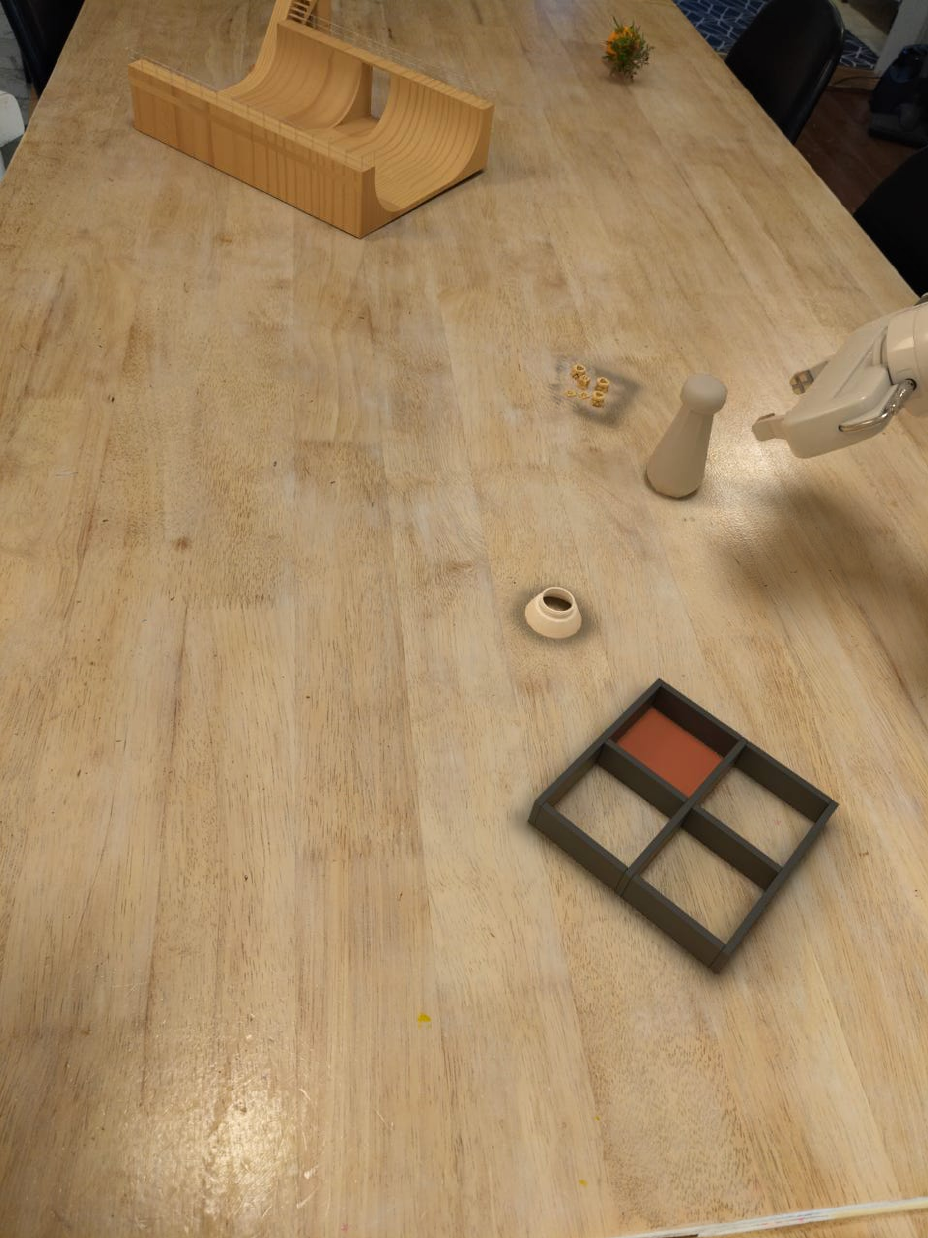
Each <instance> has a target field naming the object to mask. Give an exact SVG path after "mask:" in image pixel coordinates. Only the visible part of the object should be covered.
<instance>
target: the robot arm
mask: <svg viewBox="0 0 928 1238" xmlns="http://www.w3.org/2000/svg"><path fill="white" fill-rule="evenodd" d="M789 385H790V387H791V388H792V389H791V390H792V392H793V394H795V395H798V396H801V397H800V398H799V399H798V400H797V402H796V403H795V404H794V405H793V407H792V408H791V409H790V410H787V411H786V412H785V414H780V415H776V414H775V412H772V413H769V414H765V415H762V416H759V417H758V418H757V419H756V420H755V422H753V424H752V425H751V430H752V434H753V435H754V437H755V440H756V441H758V442H759V443H760V442H761V443H762V442H763V443H764V442H767V441H770V440H771V441H772V440H774V439H775V440H783V441H784V440H785V441H786V443H787V445H788V448H789V450H790V451H791V453H792V455H793V457H795V458H798V459H802V460H803V459H804V460H807V459H811V458H815V457H820V456H822V455H826V454H828V453H832V452H835V451H838V450H841V449H844V448H847V447H850V446H854V445H857V444H859V443H862V442H865V441H867V440H869V439H872V438H874V437H875V436H877V435H879V434H881V433H882V432H883V431H884V430H885V429H886V428H887V427H888V425H889V424H890V422H891V421H892V419H893V417H895V416H897V415H898V414H899V413H900V412H901V411H902V410H903V409H905V410H906V411H907V412H908V414H910V415H911V416H912V417H914V418H916V419H921V420H922V419H926V418H928V292H926V293H924V294H923V295H921V297H920V298H919V299H918V300H917V302H916V303H912V304H909V305H907V306H904V307H901V308H900V309H896V310H894V311H891V312H889V313H887V314H885V315H882V316H880V317H877V318H875V319H873V320H870V321H869V322H866V323H865V324H863V325H862V326H860V327H858V328H856V329H854V330H853V331H852V332H851V333H850V334H849V336H848V337H846V339H845V340H844V341H843V343H842V344H841V346H840V347H838V349H837V351H836V352H835V353H834V354H831V355H828V356H827V357H825V358H824V359H822V360H820V361H818V362H816V363H814V364H813V365H810V366H809V367H806V368H803V369H801V370H797V371H796V372H795V373H794V374H793V375H792V377H791V378H790V379H789Z"/></svg>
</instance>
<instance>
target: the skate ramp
mask: <svg viewBox="0 0 928 1238" xmlns="http://www.w3.org/2000/svg"><path fill="white" fill-rule="evenodd" d="M332 25H334V26H336V27H339V28H341V29H342V33H339V32H335V31H333V30H332ZM345 31H348V32H351V33H353V34H355V35H357V36H360V37H363V38H365V39H367V40H370V45H367V44H365V43H363V42H360V41H358V42H357V39H354V38H351V37H348V36H346V35H344V32H345ZM332 32H333V33H335V34H338V35H340V36H342V39H344V38H348V39H350V40H353V41H355V42H356V46H355V45H353V44H351V43H348V42H346V41H344V40H342V39H339V38H337V37H334V36H332ZM374 42H375V43H377V44H380V45H382V46H385V47H386V48H389V49H391V50H394V51H397V52H399V53H401V54H404V55H407V56H409V57H411V58H415V59H416V57H415V56H412V55H410V54H408V53H405V52H402V51H400V50H397V49H395V48H393V47H391V46H388V45H385V44H383V43H381V42H379V41H375V40H373V39H371V38H368V37H366V36H364V35H361V34H359V33H356V32H354V31H352V30H350V29H347V28H344V27H342V26H340V25H337V24H335V23H332V0H276V1H275V3H274V6H273V9H272V13H271V16H270V19H269V22H268V25H267V29H266V32H265V36H264V39H263V42H262V45H261V48H260V51H259V53H258V58H257V59H256V61H255V63H253V64H251V65H248V75H247V76H246V77H245V78H244V79H243V80H241V81H240V82H238V83H236V84H233V85H232V86H229V87H226V88H224V89H222V90H221V89H218V88H215V87H213V86H211V85H209V84H207V83H206V82H205V83H204V82H202V81H200V80H198V79H196V78H194V77H192V76H189V75H186V74H185V73H183V72H180V71H178V70H176V69H174V68H172V67H169V66H168V65H165V64H163V63H160V62H159V61H155V60H154V59H152V58H150V57H148V56H145V55H143V54H142V52H141V51H142V50H141V48H139V51H138V52H136V51H134V50H133V49H130V48H133V47H135V46H138V45H139V43H137V44H134V45H130V46H128V47H125V48H124V49H125V51H126V54H125V57H126V58H125V59H127V61H126V69H127V77H128V83H129V87H130V97H131V103H132V110H133V112H132V113H133V118H134V127H135V130H137V131H139V132H141V133H143V134H145V135H147V136H149V137H151V138H154V139H155V140H158V141H159V142H162V143H164V144H165V145H168V146H170V147H171V148H173V149H176V150H177V151H180V152H182V153H184V154H186V155H188V156H190V157H192V158H194V159H195V160H198V161H200V162H202V163H204V164H207V165H208V166H210V167H212V168H214V169H217V170H218V171H221V172H223V173H225V174H226V175H229V176H231V177H233V178H235V179H237V180H239V181H241V182H243V183H245V184H247V185H250V186H251V187H254V188H255V189H257V190H260V191H261V192H264V193H265V194H268V195H270V196H272V197H274V198H276V199H278V200H280V201H282V202H284V203H286V204H288V205H290V206H293V207H294V208H296V209H299V210H301V211H303V212H305V213H307V214H309V215H311V216H313V217H315V218H317V219H318V220H321V221H323V222H325V223H327V224H329V225H331V226H333V227H336V228H337V229H340V230H342V231H343V232H345V233H347V234H350V235H352V236H353V237H356V238H358V240H360V239H362V238H364V237H366V236H368V235H369V234H371V233H373V232H375V231H376V230H378V229H379V228H381V227H383V226H384V225H387V224H388V223H390V222H392V221H394V220H395V219H397V218H399V217H401V216H402V215H404V214H405V213H407V212H409V211H411V210H412V209H414V208H416V207H418V206H420V205H421V204H423V203H425V202H426V201H428V200H430V199H431V198H433V197H435V196H437V195H438V194H440V193H443V192H444V191H445V190H448V189H449V188H451V187H453V186H454V185H456V184H458V183H460V182H462V181H463V180H465V179H467V178H468V177H471V176H472V175H473V174H476V173H477V172H479V171H480V170H482V169H484V168H485V167H487V165H488V157H489V149H490V143H491V134H492V129H493V128H492V126H493V118H494V112H495V101H496V98H495V96H491V95H489V94H491V93H492V95H496V93H497V90H496V89H492V88H490V87H488V86H485V85H483V84H480V83H479V82H475V81H473V80H470V79H468V78H466V77H463V76H461V75H458V74H456V73H454V72H451V71H449V70H446V69H444V68H441V67H439V66H437V65H434V64H432V63H429V62H428V61H424V60H422V59H419V58H417V61H422V62H423V63H426V64H427V65H430V66H431V68H434V67H436V68H439V69H440V70H443V71H445V72H446V74H445V76H442V75H440V74H438V73H436V72H433V71H432V70H429V69H425V68H424V67H421V66H418V63H417V62H415V64H413V63H411V62H409V61H406V60H404V59H403V57H400V58H398V57H396V56H394V55H391V54H390V53H387V56H391V57H394V58H396V59H398V60H399V61H400V63H396V62H394V61H392V60H390V59H388V57H382V56H381V55H380V56H379V55H378V54H375V53H373V52H371V51H369V50H365V49H363V48H360V47H359V43H360V44H362V45H363V46H364V45H365V46H366V47H370V48H373V49H374V50H377V51H379V52H382V53H383V54H386V51H385V52H384V51H382V50H379V49H377V48H374V47H373V45H374V44H373V43H374ZM128 50H129V51H131V52H134V53H132V54H129V52H128ZM135 54H139V55H140V59H138V60H137V59H136V58H134V57H131V56H132V55H135ZM143 57H145V58H146V59H149V60H150V62H149V61H148V60H146V59H143ZM130 59H133V60H135V61H133V62H130V61H129V60H130ZM151 61H153V62H154V63H152V62H151ZM403 62H406V63H408V64H409V65H410V64H411V65H413V66H414V69H415V70H413V69H411V68H409V67H406V66H403V65H402V64H403ZM157 63H158V64H160V65H161V66H159V65H158V64H157ZM162 66H164V67H167V68H169V69H170V70H167V69H165V68H163V67H162ZM374 68H375V69H378V70H381V71H383V72H385V73H388V74H390V85H389V91H388V97H387V101H386V104H385V107H384V110H383V112H382V115H381V117H380V118H378V117H376V116H374V115H372V97H373V95H372V94H373V71H374ZM417 68H420V69H423V70H425V71H427V72H429V73H430V75H429V76H428V75H425V74H424V73H420V72H418V71H417ZM172 71H175V72H178V73H179V74H182V75H184V76H185V77H183V76H181V75H178V74H176V73H173V72H172ZM433 74H435V75H437V76H440V77H441V78H444V79H446V78H448V77H449V75H448V74H453V75H456V76H458V77H460V78H461V79H465V80H466V81H470V82H472V83H474V84H477V89H474V88H472V87H469V86H466V85H464V83H463V82H461V83H459V82H457V81H455V80H453V79H450V78H448V80H449V81H451V82H454V83H456V84H458V85H460V88H461V89H459V88H457V87H454V86H452V85H449V84H448V82H445V83H444V82H442V81H440V80H437V79H435V78H433ZM187 77H188V78H190V79H193V80H195V81H198V82H199V84H198V83H195V82H194V81H192V80H189V79H188V78H187ZM203 84H204V85H206V86H208V87H210V88H212V89H215V90H216V91H213V90H211V89H209V88H207V87H205V86H203ZM480 86H482V87H485V88H487V89H489V90H492V91H490V92H488V93H487V94H486V93H484V92H481V91H479V88H480ZM463 87H465V88H468V89H471V90H474V91H475V92H477V93H480V94H482V95H485V97H484V98H481V97H479V94H476V95H474V94H471V93H469V92H466V91H464V90H463ZM487 96H488V97H490V99H488V100H486V97H487ZM490 100H491V102H490Z"/></svg>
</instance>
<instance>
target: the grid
mask: <svg viewBox="0 0 928 1238" xmlns="http://www.w3.org/2000/svg"><path fill="white" fill-rule="evenodd" d="M596 764H597V765H598V766H599V767H601V768H602V769H603V770H605V771H606V772H607V773H609V774H610V775H611V776H612V777H614V778H615V779H616V780H618V781H619V782H620V783H622V784H623V786H624V785H625V786H626V787H627V788H628V789H629V790H631V791H632V792H634V793H635V794H636V795H638V796H639V797H640V798H641V799H643V800H644V801H646V802H647V803H648V804H649V805H650V806H652V807H653V808H654V809H656V810H657V811H659V812H660V813H661V814H663V815H664V816H665V817H667V818H668V819H669V821H668V822H666V824H665V825H664V826H663V827H662V829H661V830H659V832H658V833H657V834H656V836H655V837H654V838H653V839H652V840H651V841H650V842H649V844H648V845H647V846H646V847H645V848H644V850H642V852H641V853H640V854H639V855H638V856H637V857H636V859H635V860H634V861H633V862H632V863H631V864H630V866H627V865H626V864H625V863H624V862H623V861H621V860H620V859H619V858H617V857H616V856H615V855H614V854H612V852H610V851H609V850H608V849H606V848H605V847H603V846H602V844H600V843H599V842H598V841H596V840H595V839H594V838H592V837H591V836H590V835H589V834H587V833H586V832H585V831H583V829H581V828H580V827H579V826H577V825H576V824H575V823H574V822H572V821H571V820H570V819H568V818H567V817H566V816H565V815H563V814H562V813H561V812H559V811H558V810H557V809H556V808H555V807H554V806H555V805H556V804H557V803H558V802H559V801H561V799H562V798H563V797H564V796H565V795H566V794H568V792H570V790H571V789H572V788H573V787H574V786H575V785H576V784H577V783H578V782H579V781H580V780H581V779H582V778H583V777H584V776H585V775H586V774H587V773H588V772H589V771H590V770H591V769H592V768H593V767H594V766H595V765H596ZM733 767H735V768H737V769H739V770H740V771H741V772H743V773H744V774H745V775H747V776H748V777H750V778H751V779H753V780H754V781H755V782H757V783H758V784H759V785H761V786H763V787H764V789H766V790H768V791H769V792H771V793H772V794H774V795H775V796H776V797H777V798H779V799H780V800H781V801H783V802H784V803H786V804H787V805H789V806H790V807H791V808H793V809H794V810H796V811H798V812H799V813H800V814H801V815H803V816H804V817H806V818H807V820H809V821H812V823H814V824H813V825H812V827H811V828H810V829H809V831H808V832H807V833H806V835H805V836H804V837H803V839H802V840H801V842H800V843H799V845H797V847H796V849H795V850H794V851H793V853H792V854H791V855H790V857H789V858H788V859H787V860H786V862H785V863H784V865H783V866H782V865H781V864H779V863H778V862H776V861H775V860H774V859H772V858H771V857H770V856H768V855H766V854H765V853H764V852H763V851H762V850H761V849H759V848H758V847H756V846H755V845H754V844H752V843H751V842H750V841H748V840H747V839H745V838H744V837H743V836H742V835H740V834H739V833H737V832H736V831H735V830H733V829H732V828H731V827H729V826H728V825H726V824H725V823H724V822H723V821H721V820H720V819H719V818H718V817H716V816H714V815H713V814H712V813H710V812H709V811H708V810H706V809H705V808H704V807H702V806H701V804H702V803H703V802H704V801H705V800H706V798H707V797H708V796H709V795H710V794H711V793H712V792H713V790H714V789H715V788H716V787H717V786H718V784H719V783H720V782H721V781H722V780H723V778H724V777H725V776H726V775H727V774H728V772H730V770H731V769H732V768H733ZM839 806H840V803H839V802H837V801H836V800H835V799H833V798H832V797H830V796H829V795H827V794H825V793H824V792H823V791H822V790H820V789H818V788H817V787H816V786H814V785H813V784H812V783H810V782H809V781H807V780H806V779H804V778H803V777H802V776H800V775H799V774H797V773H796V772H795V771H793V770H792V769H790V768H789V767H787V766H786V765H784V764H783V763H782V762H780V761H779V760H777V759H776V758H774V756H771V754H769V753H767V752H766V751H765V750H763V749H762V748H760V747H759V746H757V745H756V744H754V743H753V742H752V741H750V740H749V739H747V738H746V737H745V736H743V735H742V734H741V733H739V732H738V731H736V730H735V729H734V728H732V727H730V726H729V725H728V724H726V723H724V721H722V720H720V719H719V718H718V717H717V716H715V715H713V714H712V713H711V712H709V711H708V710H706V709H705V708H703V707H702V706H701V705H699V704H698V703H696V702H695V701H693V700H692V699H691V698H689V697H688V696H687V695H685V694H683V693H682V692H681V691H679V690H678V689H676V688H675V687H673V686H672V685H671V684H669V683H668V682H667V681H665V680H663V679H662V678H660V677H657V679H655V681H654V682H653V683H651V684H650V685H649V687H647V689H645V691H643V692H642V693H641V695H640V696H639V697H637V699H636V700H635V701H633V703H631V704H630V706H629V707H627V709H625V710H624V712H622V714H621V715H619V716H618V718H616V720H614V722H612V723H611V725H609V727H607V728H606V729H605V730H604V731H603V733H601V734H600V735H599V736H598V737H597V738H596V739H595V740H594V741H593V742H592V743H591V744H590V745H589V746H588V747H587V748H586V749H585V750H584V751H583V752H582V753H581V754H580V756H578V757H577V758H576V759H575V760H574V761H573V762H572V763H571V764H570V765H569V766H568V767H567V768H566V769H565V770H564V771H563V772H562V773H561V774H560V775H559V776H558V777H557V778H556V779H555V780H554V781H553V782H552V783H551V784H550V785H549V786H548V787H546V789H545V790H544V791H543V792H542V793H541V794H540V795H539V796H538V797H537V798H536V799H535V800H534V801H533V804H532V807H531V810H530V813H529V816H528V819H527V822H528V823H529V825H531V826H532V827H534V828H535V829H536V830H537V831H538V832H540V833H541V834H542V835H544V837H546V838H547V839H548V840H550V841H551V842H552V843H554V844H555V845H556V846H557V847H558V848H560V849H561V850H562V851H563V852H564V853H566V854H567V855H568V856H569V857H571V858H572V859H573V860H574V861H576V862H577V863H578V864H579V865H581V867H583V868H584V869H585V870H587V871H588V872H589V873H590V874H592V875H593V876H594V877H595V878H597V880H599V881H600V882H602V883H603V885H604V886H606V887H608V888H609V889H610V890H611V891H613V892H614V893H615V894H616V895H617V896H619V897H621V899H622V900H624V902H626V903H627V904H629V905H630V906H631V907H632V908H634V909H635V910H636V911H637V912H639V913H640V914H641V915H642V916H644V917H645V918H646V919H647V920H648V921H650V922H651V923H652V924H653V925H655V926H656V927H657V928H658V929H659V930H661V932H663V933H664V934H666V935H667V936H668V937H669V938H671V939H672V940H673V941H674V942H676V943H677V944H678V945H679V946H680V947H682V948H683V949H684V950H686V952H688V953H689V954H691V955H692V956H693V957H694V958H695V959H696V960H698V961H699V962H700V963H702V964H703V965H704V966H705V967H707V968H708V969H709V970H710V971H711V972H712V973H714V974H718V972H719V971H720V970H721V968H723V966H724V964H725V963H726V962H727V961H728V959H729V958H730V957H731V955H733V953H734V951H735V950H736V948H737V947H738V945H739V944H740V943H741V941H742V940H743V939H744V937H745V936H746V934H747V933H748V932H749V930H750V929H751V928H752V927H753V925H754V923H755V922H756V921H757V919H758V918H759V917H760V915H761V914H762V912H763V911H764V910H765V909H766V907H767V906H768V904H769V903H770V901H771V900H772V898H773V897H774V896H775V895H776V894H777V892H778V891H779V889H780V888H781V886H782V885H783V884H784V882H785V881H786V879H787V878H788V876H789V875H790V874H791V873H792V871H793V869H794V868H795V867H796V866H797V864H798V863H799V861H800V860H801V859H802V857H803V856H804V854H805V853H806V852H807V850H808V849H809V848H810V846H811V845H812V843H813V842H814V841H815V839H816V838H817V836H818V835H819V834H820V832H821V831H822V829H823V828H824V827H825V825H826V824H827V823H828V821H829V820H830V818H831V817H832V816H833V815H834V813H835V812H836V810H837V809H838V808H839ZM680 829H682V830H684V832H686V833H687V834H688V835H690V836H692V838H694V839H695V840H697V841H698V842H700V843H701V844H702V845H703V846H704V847H706V848H708V849H709V850H710V851H711V852H712V853H714V854H715V855H717V856H718V857H719V858H720V859H722V860H723V861H724V862H726V863H727V864H728V865H730V866H731V867H732V868H734V869H735V870H737V872H739V873H740V874H742V875H743V876H744V877H745V878H747V879H748V880H750V881H751V882H752V883H754V885H756V886H757V887H759V888H760V889H762V890H763V891H764V892H763V893H762V894H761V896H760V898H759V899H758V900H757V902H755V904H754V906H753V907H752V908H751V910H750V911H749V912H748V914H747V915H746V916H745V918H744V919H743V921H742V922H741V924H739V926H738V928H737V929H736V930H735V931H734V932H733V934H732V935H731V937H730V938H729V940H728V941H727V942H726V943H724V942H723V941H722V940H721V939H720V938H718V936H716V935H714V934H713V933H712V932H711V931H709V930H708V929H707V928H706V927H704V925H702V924H700V923H699V922H698V921H697V920H696V919H694V918H693V917H692V916H690V915H689V914H688V913H687V912H685V911H684V909H682V908H681V907H679V906H678V905H677V904H675V903H674V902H673V901H672V900H670V899H669V898H668V897H667V896H665V895H664V894H663V893H661V892H660V890H658V889H657V888H656V887H654V886H653V885H651V884H650V883H649V882H648V881H647V880H646V879H644V878H643V877H641V875H642V874H643V872H644V871H645V870H646V869H647V868H648V867H649V866H650V864H651V863H652V862H653V861H654V860H655V858H657V856H658V855H659V854H660V852H661V851H662V850H663V849H664V848H665V846H667V844H668V843H669V842H670V841H671V839H673V837H675V835H676V833H678V831H679V830H680Z"/></svg>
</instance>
